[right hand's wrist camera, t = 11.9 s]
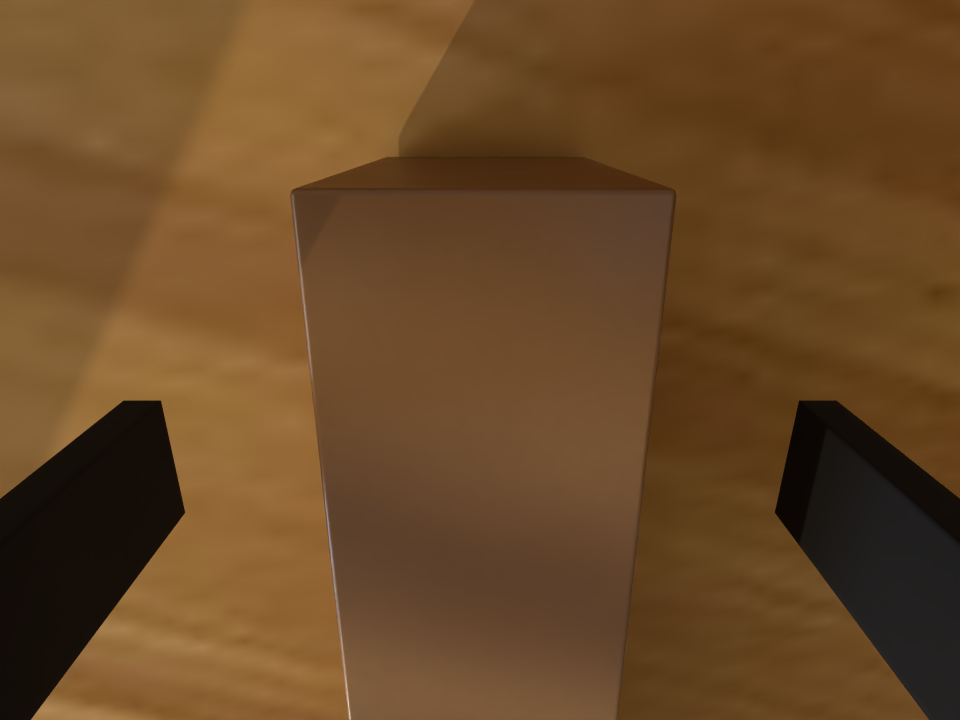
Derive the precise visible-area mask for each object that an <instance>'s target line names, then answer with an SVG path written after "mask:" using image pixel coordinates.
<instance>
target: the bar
mask: <svg viewBox="0 0 960 720" xmlns="http://www.w3.org/2000/svg"><path fill="white" fill-rule="evenodd" d="M290 197H291V206H292V215H293V224H294V233H295V242H296V251H297V260H298V269H299V278H300V287H301V296H302V305H303V314H304V323H305V332H306V341H307V350H308V359H309V368H310V377H311V386H312V395H313V405H314V414H315V423H316V432H317V441H318V450H319V459H320V468H321V477H322V486H323V495H324V504H325V513H326V522H327V531H328V540H329V549H330V558H331V567H332V576H333V585H334V594H335V603H336V612H337V621H338V630H339V639H340V648H341V657H342V666H343V676H344V685H345V694H346V703H347V712H348V720H617V713H618V704H619V695H620V686H621V677H622V669H623V660H624V651H625V642H626V633H627V625H628V616H629V607H630V598H631V590H632V581H633V572H634V563H635V554H636V546H637V537H638V528H639V519H640V510H641V502H642V493H643V484H644V475H645V466H646V458H647V449H648V440H649V431H650V423H651V414H652V405H653V396H654V387H655V379H656V370H657V361H658V352H659V343H660V335H661V326H662V317H663V308H664V299H665V291H666V282H667V273H668V264H669V255H670V247H671V238H672V229H673V220H674V212H675V203H676V192H675V190H673V189H671V188H668V187H665V186H662V185H659V184H657V183H654V182H651V181H648V180H646V179H643V178H640V177H637V176H634V175H632V174H629V173H626V172H623V171H620V170H618V169H615V168H612V167H609V166H606V165H604V164H601V163H598V162H595V161H592V160H590V159H587V158H584V157H386V158H383V159H380V160H377V161H374V162H371V163H368V164H365V165H362V166H359V167H357V168H354V169H351V170H348V171H345V172H342V173H339V174H336V175H333V176H330V177H327V178H324V179H321V180H319V181H316V182H313V183H310V184H307V185H304V186H301V187H298V188H295V189H293V190H292V191H291V194H290Z"/></svg>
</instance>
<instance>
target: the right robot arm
mask: <svg viewBox="0 0 960 720" xmlns="http://www.w3.org/2000/svg"><path fill="white" fill-rule="evenodd" d="M184 513H185V510H184V505H183V501H182V496H181V492H180V487H179V482H178V478H177V473H176V468H175V464H174V459H173V454H172V450H171V445H170V441H169V436H168V431H167V427H166V422H165V417H164V413H163V408H162V404H161V401H123V402H121V403H120V404H119V405H118V406H116V407H115V408H114V409H113V410H111V411H110V412H109V413H108V414H106V415H105V416H104V417H102V418H101V419H100V420H99V421H97V422H96V423H95V424H94V425H92V426H91V427H90V428H89V429H87V430H86V431H85V432H84V433H82V434H81V435H80V436H79V437H77V438H76V439H75V440H74V441H72V442H71V443H70V444H69V445H67V446H66V447H65V448H64V449H62V450H61V451H60V452H58V453H57V454H56V455H55V456H53V457H52V458H51V459H50V460H48V461H47V462H46V463H45V464H43V465H42V466H41V467H40V468H38V469H37V470H36V471H35V472H33V473H32V474H31V475H30V476H28V477H27V478H26V479H25V480H23V481H22V482H21V483H20V484H18V485H17V486H16V487H15V488H13V489H12V490H11V491H9V492H8V493H7V494H6V495H4V496H3V497H2V498H1V499H0V720H31V719H32V717H33V716H34V715H35V713H36V712H37V711H38V709H39V708H40V707H41V705H42V704H43V703H44V701H45V700H46V699H47V697H48V696H49V695H50V693H51V692H52V690H53V689H54V688H55V686H56V685H57V684H58V682H59V681H60V680H61V678H62V677H63V676H64V674H65V673H66V672H67V670H68V669H69V668H70V666H71V665H72V664H73V662H74V661H75V660H76V658H77V657H78V656H79V654H80V653H81V652H82V650H83V649H84V648H85V646H86V645H87V644H88V642H89V641H90V640H91V638H92V637H93V636H94V634H95V633H96V631H97V630H98V629H99V627H100V626H101V625H102V623H103V622H104V621H105V619H106V618H107V617H108V615H109V614H110V613H111V611H112V610H113V609H114V607H115V606H116V605H117V603H118V602H119V601H120V599H121V598H122V597H123V595H124V594H125V593H126V591H127V590H128V589H129V587H130V586H131V585H132V583H133V582H134V581H135V579H136V578H137V576H138V575H139V574H140V572H141V571H142V570H143V568H144V567H145V566H146V564H147V563H148V562H149V560H150V559H151V558H152V556H153V555H154V554H155V552H156V551H157V550H158V548H159V547H160V546H161V544H162V543H163V542H164V540H165V539H166V538H167V536H168V535H169V534H170V532H171V531H172V530H173V528H174V527H175V526H176V524H177V523H178V521H179V520H180V519H181V517H182V516H183V515H184ZM775 513H776V515H777V516H778V517H779V519H780V520H781V522H782V523H783V524H784V526H785V527H786V528H787V530H788V531H789V532H790V534H791V535H792V536H793V538H794V539H795V540H796V542H797V543H798V544H799V546H800V547H801V548H802V550H803V551H804V552H805V554H806V555H807V556H808V558H809V559H810V560H811V562H812V563H813V564H814V566H815V567H816V568H817V570H818V571H819V572H820V574H821V575H822V576H823V578H824V579H825V581H826V582H827V583H828V585H829V586H830V587H831V589H832V590H833V591H834V593H835V594H836V595H837V597H838V598H839V599H840V601H841V602H842V603H843V605H844V606H845V607H846V609H847V610H848V611H849V613H850V614H851V615H852V617H853V618H854V619H855V621H856V622H857V623H858V625H859V626H860V627H861V629H862V630H863V631H864V633H865V634H866V636H867V637H868V638H869V640H870V641H871V642H872V644H873V645H874V646H875V648H876V649H877V650H878V652H879V653H880V654H881V656H882V657H883V658H884V660H885V661H886V662H887V664H888V665H889V666H890V668H891V669H892V670H893V672H894V673H895V674H896V676H897V677H898V678H899V680H900V681H901V682H902V684H903V685H904V686H905V688H906V689H907V690H908V692H909V693H910V695H911V696H912V697H913V699H914V700H915V701H916V703H917V704H918V705H919V707H920V708H921V709H922V711H923V712H924V713H925V715H926V716H927V717H928V719H929V720H960V499H959V498H958V497H957V496H956V495H954V494H953V493H952V492H951V491H949V490H948V489H947V488H945V487H944V486H943V485H942V484H940V483H939V482H938V481H937V480H935V479H934V478H933V477H932V476H930V475H929V474H928V473H927V472H925V471H924V470H923V469H922V468H920V467H919V466H918V465H917V464H915V463H914V462H913V461H912V460H910V459H909V458H908V457H907V456H905V455H904V454H903V453H902V452H900V451H899V450H898V449H896V448H895V447H894V446H893V445H891V444H890V443H889V442H888V441H886V440H885V439H884V438H883V437H881V436H880V435H879V434H878V433H876V432H875V431H874V430H873V429H871V428H870V427H869V426H868V425H866V424H865V423H864V422H863V421H861V420H860V419H859V418H858V417H856V416H855V415H854V414H852V413H851V412H850V411H849V410H847V409H846V408H845V407H844V406H842V405H841V404H840V403H839V402H837V401H799V404H798V408H797V413H796V417H795V422H794V427H793V431H792V436H791V441H790V445H789V450H788V454H787V459H786V464H785V468H784V473H783V478H782V482H781V487H780V492H779V496H778V501H777V505H776V510H775Z"/></svg>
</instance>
